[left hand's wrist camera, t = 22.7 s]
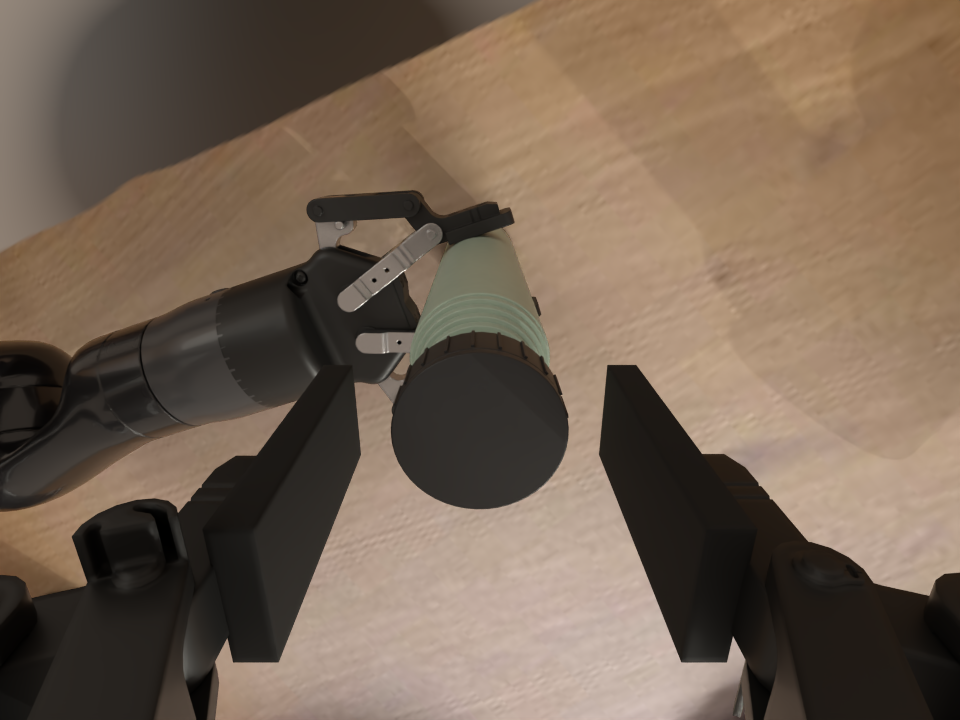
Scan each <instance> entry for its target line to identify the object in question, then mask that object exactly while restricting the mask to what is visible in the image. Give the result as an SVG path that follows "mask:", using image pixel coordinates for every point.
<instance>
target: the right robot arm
mask: <svg viewBox="0 0 960 720" xmlns="http://www.w3.org/2000/svg"><path fill="white" fill-rule="evenodd" d="M307 214H308V216H309V218H310V219H311V220H313V221H314V222H315V224H316V230H317V236H318V242H319V248H320V249H319V250H318V251H316V252H315V253H314V254H313V256H312V257H311V258H310V259H309V260H308V261H307V262H305V263H302V264H300V265H297V266H294V267H291V268H288V269H285V270H282V271H279V272H276V273H273V274H270V275H267V276H264V277H261V278H258V279H255V280H252V281H249V282H246V283H243V284H240V285H237V286H234V287H231V288H225V289H220V290H217V291H214V292H212V293H211V294H210V295H208V296H205V297H202V298H199V299H196V300H193V301H191V302H188V303H186V304H184V305H182V306H180V307H178V308H176V309H174V310H172V311H170V312H168V313H166V314H164V315H162V316H159V317H156V318H153V319H150V320H147V321H144V322H141V323H138V324H135V325H132V326H129V327H126V328H123V329H121V330H118V331H115V332H112V333H109V334H106V335H103V336H100V337H98V338H96V339H94V340H91V341H89V342H88V343H86V344H85V345H84V346H82V347H81V348H80V349H79V350H77V352H76V353H75V354H74V356H73V357H71V356H70V355H69V354H67V353H66V352H64V351H63V350H61V349H59V348H57V347H55V346H53V345H51V344H47V343H44V342H38V341H26V340H13V341H0V512H8V511H17V510H22V509H27V508H31V507H34V506H38V505H41V504H44V503H46V502H49V501H51V500H54V499H56V498H59V497H61V496H63V495H65V494H67V493H69V492H71V491H73V490H74V489H76V488H78V487H79V486H81V485H83V484H84V483H86V482H88V481H89V480H91V479H92V478H94V477H95V476H97V475H98V474H99V473H101V472H102V471H104V470H105V469H106V468H108V467H109V466H111V465H112V464H113V463H115V462H117V461H118V460H120V459H121V458H123V457H124V456H126V455H128V454H129V453H131V452H133V451H134V450H136V449H137V448H139V447H141V446H142V445H144V444H146V443H148V442H150V441H153V440H156V439H159V438H162V437H165V436H169V435H172V434H175V433H178V432H182V431H185V430H188V429H191V428H195V427H198V426H201V425H205V424H209V423H213V422H220V421H226V420H232V419H237V418H241V417H245V416H248V415H251V414H254V413H258V412H261V411H264V410H268V409H271V408H274V407H277V406H281V405H284V404H287V403H290V402H294V401H297V400H298V399H299V398H300V397H301V395H302V394H303V393H304V391H305V390H306V388H307V387H308V386H309V384H310V383H311V382H312V380H313V379H314V378H315V376H316V375H317V374H318V372H319V371H320V370H321V368H322V367H323V366H324V365H353V376H354V383H355V382H362V383H368V384H379V386H380V387H381V388H382V390H383V391H384V392H385V393H386V395H387V396H388V397H389V399H390V400H391V401H392V403H393V404H394V401H395V398H396V395H397V393H398V390H399V387H400V385H401V386H402V385H403V382H404V379H405V376H406V374H404V375H398V374H396V373H394V372H393V370H394V369H395V368H396V366H397V365H398V364H399V362H400V361H401V359H402V358H403V357H404V355H405V354H406V353H410V349H411V343H412V340H413V337H414V334H415V331H416V328H417V325H418V323H419V320H420V317H421V316H420V313H419V310H418V308H417V306H416V304H415V303H414V301H413V300H412V299H411V297H410V296H409V290H408V281H407V279H406V276H405V273H404V271H405V270H407V269H408V268H409V267H410V266H411V265H412V264H413V263H414V262H416V261H417V260H418V259H419V258H421V257H422V256H423V255H425V254H426V253H427V252H428V251H430V250H431V249H432V248H433V247H435V246H436V245H438V244H441V243H444V242H447V241H448V243H449V245H451V244H454V243H457V242H460V241H463V240H466V239H469V238H473V237H476V236H479V235H482V234H485V233H488V232H491V231H494V230H497V229H500V228H503V227H506V226H509V225H511V224H513V223H515V222H514V219H513V215H512V212H511V209H510V208H505V209H502V210H499V208H498V204H497V202H484V203H481V204H478V205H475V206H472V207H469V208H466V209H463V210H460V211H457V212H454V213H451V214H449V215H444V216H443V215H438V214H436V213H434V212H433V211H432V210H431V208H430V207H429V206H428V204H427V203H426V202H425V201H424V197H423V195H422V194H421V193H420V192H418V191H415V190H411V191H395V192H379V193H363V194H347V195H331V196H325V197H321V198H317V199H314V200H312V201H310V202H309V203H308V205H307ZM389 218H406V219H407V221H408V222H409V223H410V224H411V225H412V227H413V228H414V229H415V231H414V232H413V233H412V234H410V235H409V236H408V237H407V238H405V239H404V240H402V241H401V242H400V243H399V244H397V245H396V246H395V247H394V248H392V249H391V250H390V251H389V252H387V253H386V254H385V255H384V256H382V257H381V258H380V257H377V256H374V255H370V254H367V253H364V252H361V251H358V250H355V249H351V248H348V247H345V246H342V245H340V239H341V237H342V236H343V235H346V234H349V233H350V232H352V231H353V230H354V229H355V228H356V226H357V220H372V219H389ZM532 299H533V302H534V305H535V307H536V310H537V313H538V316H540V315H541V312H540V309H539V305H538V302H537V299H536V297H532ZM394 409H395V406H393V407H392V414H393V412H394Z"/></svg>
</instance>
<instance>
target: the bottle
mask: <svg viewBox="0 0 960 720" xmlns="http://www.w3.org/2000/svg"><path fill="white" fill-rule="evenodd" d="M472 330H475V332H490V333H497V332H500V333H501V335H505V336H508V337H511V338H513V339H516V340H518V341H520V342H521V341H524V343H525V345H527V346H528V347H529V348H531V349H532V350H534V351H535V352H536V353H537V354H538V355H539V356H541V355H542V356H543V357H544V360H545V363H546V364H547V365H548V367H549V363H550V351H549V345H548V341H547V338H546V335H545V332H544V330H543V327H542V324H541V321H540V319H539V316H538V313H537V310H536V307H535V305H534V302H533V299H532V296H531V294H530V291H529V288H528V285H527V283H526V280H525V277H524V274H523V272H522V269H521V266H520V263H519V261H518V258H517V255H516V252H515V250H514V247H513V244H512V242H511V240H510V238H509V236H508V235H507V233H506V232H505V231H504V230H503V229H502V228H500V229H497V230H494V231H491V232H488V233H485V234H482V235H479V236H476V237H473V238H469V239H466V240H463V241H460V242H457V243H454V244H451V245H449V243H447V246H446V249H445V251H444V254H443V257H442V260H441V262H440V265H439V268H438V271H437V273H436V276H435V279H434V282H433V284H432V287H431V290H430V293H429V295H428V298H427V301H426V304H425V306H424V309H423V312H422V315H421V317H420V320H419V323H418V325H417V328H416V331H415V334H414V337H413V340H412V343H411V349H410V365H413V364H414V362H415V361H416V360H417V359H418V358H419V357H420V356H421V355H422V354H423V353H424V350H425V348H428V349H429V348H430V347H431V346H433V345H435V344H436V343H438V342H440V341H442V340H444V339H446V337H447V336H450V337H451V336H455V335H458V334H463V333H469V332H472Z"/></svg>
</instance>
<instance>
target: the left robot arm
mask: <svg viewBox="0 0 960 720" xmlns="http://www.w3.org/2000/svg"><path fill="white" fill-rule="evenodd" d="M360 456H361V450H360V440H359V429H358V418H357V408H356V397H355V387H354V376H353V365H324V366H323V367H322V368H321V370H320V371H319V372H318V374H317V375H316V376H315V378H314V379H313V380H312V382H311V383H310V384H309V386H308V387H307V388H306V390H305V391H304V393H303V394H302V395H301V397H300V398H299V399H298V401H297V402H296V403H295V405H294V406H293V407H292V409H291V410H290V411H289V413H288V414H287V415H286V417H285V418H284V420H283V421H282V422H281V424H280V425H279V426H278V428H277V429H276V430H275V432H274V433H273V434H272V436H271V437H270V438H269V440H268V441H267V442H266V444H265V445H264V447H263V448H262V449H261V451H260V452H259V453H258V455H257V456H235V457H233V458H232V459H230V460H229V461H227V462H226V463H224V464H223V465H221V466H219V467H218V468H216V469H215V470H214V471H213V472H212V474H211V475H210V476H209V477H208V478H207V479H206V481H205V482H204V483H203V484H202V488H199V489H198V490H197V491H196V493H195V494H194V495H193V496H192V497H191V501H188V502H187V503H186V504H185V506H184V507H183V508H182V509H181V510H180V512H179V513H178V512H177V508H176V506H174V505H173V504H172V503H170V502H169V501H166V500H160V499H155V498H154V499H142V500H135V501H131V502H127V503H123V504H120V505H116V506H114V507H112V508H110V509H107V510H105V511H103V512H101V513H98V514H97V515H95V516H94V517H92V518H91V519H89V520H88V521H86V522H85V523H84V524H82V525H81V526H80V527H79V529H78V530H77V531H76V532H75V533H74V535H73V536H72V539H73V542H74V545H75V547H76V550H77V553H78V556H79V559H80V562H81V565H82V568H83V571H84V574H85V576H86V579H87V582H88V583H87V585H86V586H83V587H80V588H75V589H71V590H66V591H62V592H57V593H53V594H48V595H44V596H39V597H35V598H31V596H30V593H29V591H28V588H27V586H26V583H25V582H24V581H22V580H21V579H19V578H18V577H17V576H6V575H0V720H215V715H216V706H217V697H218V688H219V679H218V672H217V668H216V664H215V660H216V659H217V657H218V655H219V653H220V651H221V649H222V647H223V645H224V643H225V641H226V639H227V638H228V642H229V646H230V651H231V655H232V659H233V662H279V660H280V657H281V655H282V652H283V650H284V647H285V645H286V642H287V640H288V637H289V635H290V632H291V630H292V627H293V625H294V622H295V620H296V617H297V615H298V612H299V609H300V607H301V604H302V602H303V599H304V597H305V594H306V592H307V589H308V587H309V584H310V582H311V579H312V577H313V574H314V572H315V569H316V567H317V564H318V562H319V559H320V557H321V554H322V551H323V549H324V546H325V544H326V541H327V539H328V536H329V534H330V531H331V529H332V526H333V524H334V521H335V519H336V516H337V514H338V511H339V509H340V506H341V504H342V501H343V499H344V496H345V493H346V491H347V488H348V486H349V483H350V481H351V478H352V476H353V473H354V471H355V468H356V466H357V463H358V461H359V458H360ZM599 456H600V458H601V461H602V463H603V466H604V468H605V471H606V473H607V476H608V478H609V481H610V483H611V486H612V488H613V491H614V493H615V496H616V499H617V501H618V504H619V506H620V509H621V511H622V514H623V516H624V519H625V521H626V524H627V526H628V529H629V531H630V534H631V536H632V539H633V541H634V544H635V546H636V549H637V551H638V554H639V557H640V559H641V562H642V564H643V567H644V569H645V572H646V574H647V577H648V579H649V582H650V584H651V587H652V589H653V592H654V594H655V597H656V599H657V602H658V604H659V607H660V610H661V612H662V615H663V617H664V620H665V622H666V625H667V627H668V630H669V632H670V635H671V637H672V640H673V642H674V645H675V647H676V650H677V652H678V655H679V657H680V660H681V662H727V659H728V655H729V651H730V646H731V642H732V638H733V637H734V639H735V641H736V642H737V644H738V646H739V648H740V650H741V652H742V654H743V656H744V658H745V664H744V668H743V672H742V676H741V680H740V684H739V688H738V692H737V696H736V700H735V704H734V711H733V716H737V717H741V713H742V709H743V705H744V714H745V720H960V573H951V574H944V575H942V576H941V577H940V578H938V579H937V580H936V581H935V583H934V586H933V588H932V591H931V593H930V596H927V595H922V594H918V593H913V592H909V591H904V590H900V589H895V588H891V587H886V586H882V585H878V584H875V583H873V582H872V580H871V579H870V577H869V576H868V575H867V573H866V572H865V571H864V569H863V568H861V567H860V566H859V565H858V564H856V563H855V562H854V561H853V560H851V559H850V558H849V557H847V556H845V555H843V554H841V553H839V552H837V551H835V550H833V549H831V548H829V547H825V546H822V545H819V544H815V543H812V542H808V541H807V540H806V539H805V537H804V536H803V535H802V534H801V533H800V532H799V530H798V529H797V528H796V527H795V526H794V524H793V523H792V522H791V521H790V520H789V519H788V517H787V516H786V515H785V514H784V513H783V511H782V510H781V509H780V508H779V507H778V506H777V504H776V503H775V502H774V501H773V500H772V499H770V498H769V495H768V494H767V493H766V491H765V490H764V489H763V488H762V487H761V486H759V485H758V482H757V481H756V480H755V478H754V477H753V476H752V475H751V474H750V473H749V471H748V470H747V469H746V468H745V467H744V466H742V465H741V464H739V463H737V462H736V461H734V460H733V459H731V458H730V457H728V456H726V455H725V454H702V453H701V452H700V451H699V449H698V448H697V447H696V445H695V444H694V442H693V441H692V440H691V438H690V437H689V436H688V434H687V433H686V432H685V430H684V429H683V428H682V426H681V425H680V424H679V422H678V421H677V420H676V418H675V417H674V415H673V414H672V413H671V411H670V410H669V409H668V407H667V406H666V405H665V403H664V402H663V401H662V399H661V398H660V397H659V395H658V394H657V393H656V391H655V390H654V388H653V387H652V386H651V384H650V383H649V382H648V380H647V379H646V378H645V376H644V375H643V374H642V372H641V371H640V370H639V368H638V367H637V366H636V365H607V376H606V387H605V397H604V408H603V418H602V429H601V440H600V450H599Z"/></svg>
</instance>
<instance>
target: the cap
mask: <svg viewBox="0 0 960 720" xmlns="http://www.w3.org/2000/svg"><path fill="white" fill-rule="evenodd" d="M561 395H562V392H561V389H560V386H559V383H558V380H557V377H556V375H553V374H552V372H551V370H550V369H549V367H548V365H547V364H546V363H545V360H544V357H543V356H542V355H541V356H539V355H538V354H537V353H536V352H535V351H534V350H532V349H531V348H529V347H528V346H527V345H525V343H524V341H521V342H520V341H518V340H516V339H513V338H511V337H508V336H505V335H501V333H500V332H497V333H490V332H475V330H472V332H469V333H463V334H458V335H455V336H451V337H450V336H447V337H446V339H444V340H442V341H440V342H438V343H436V344H435V345H433V346H431V347H430V348H429V349H428V348H425V350H424V353H423V354H422V355H421V356H420V357H419V358H418V359H417V360H416V361H415V362H414V364H413V365H409V367H408V370H407V373H406V376H405V379H404V382H403V385H402V386H401V385H400V387H399V390H398V393H397V395H396V398H395V401H394V404H393V406H395V409H394V412H393V417H392V422H391V438H392V445H393V449H394V453H395V455H396V457H397V460H398V462H399V464H400V466H401V467H402V469H403V471H404V472H405V473H406V475H407V476H408V477H409V479H410V480H411V481H412V482H413V483H414V484H415V485H416V486H417V487H419V488H420V489H421V490H422V491H424V492H425V493H426V494H428V495H430V496H432V497H433V498H435V499H437V500H439V501H442V502H444V503H447V504H450V505H453V506H457V507H462V508H468V509H491V508H498V507H502V506H507V505H510V504H513V503H515V502H518V501H520V500H522V499H524V498H526V497H528V496H530V495H531V494H533V493H534V492H536V491H537V490H539V489H540V488H541V487H542V486H543V485H544V484H545V483H546V482H547V481H548V480H549V479H550V478H551V477H552V476H553V474H554V473H555V471H556V470H557V468H558V467H559V465H560V463H561V461H562V459H563V457H564V454H565V451H566V447H567V442H568V430H569V427H568V413H567V410H566V407H565V404H564V401H563V398H562V396H561Z"/></svg>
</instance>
